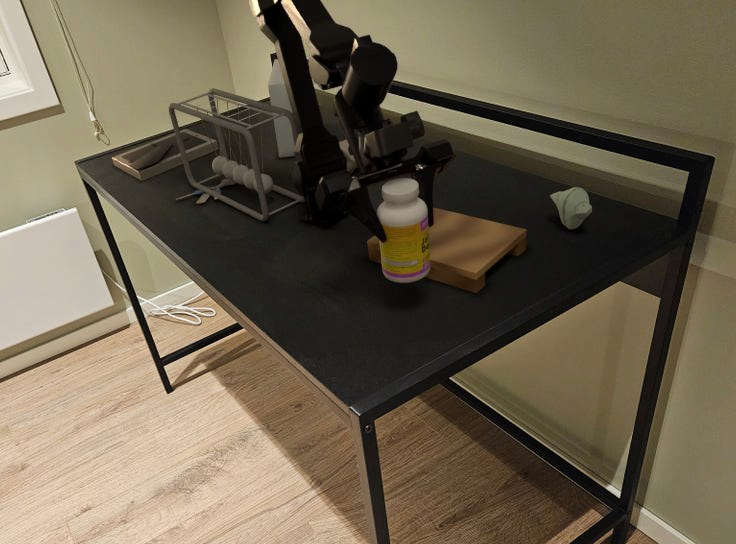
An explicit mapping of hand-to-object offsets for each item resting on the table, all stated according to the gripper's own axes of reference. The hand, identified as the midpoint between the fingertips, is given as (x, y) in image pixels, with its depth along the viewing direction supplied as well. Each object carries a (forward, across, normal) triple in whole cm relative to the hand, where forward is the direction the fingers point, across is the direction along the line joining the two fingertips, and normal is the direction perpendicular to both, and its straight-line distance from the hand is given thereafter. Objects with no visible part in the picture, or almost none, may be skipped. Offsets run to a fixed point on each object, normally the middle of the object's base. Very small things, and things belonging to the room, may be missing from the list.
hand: (408, 233), depth 86 cm
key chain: (-33, -16, +52) cm, 63 cm away
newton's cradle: (-30, -10, +48) cm, 57 cm away
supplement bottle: (+4, 0, +6) cm, 7 cm away
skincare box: (-45, +8, +64) cm, 79 cm away
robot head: (+4, +31, +13) cm, 34 cm away
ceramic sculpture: (-27, +15, +46) cm, 56 cm away
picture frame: (-54, -20, +73) cm, 93 cm away
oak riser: (+1, +11, +16) cm, 20 cm away
